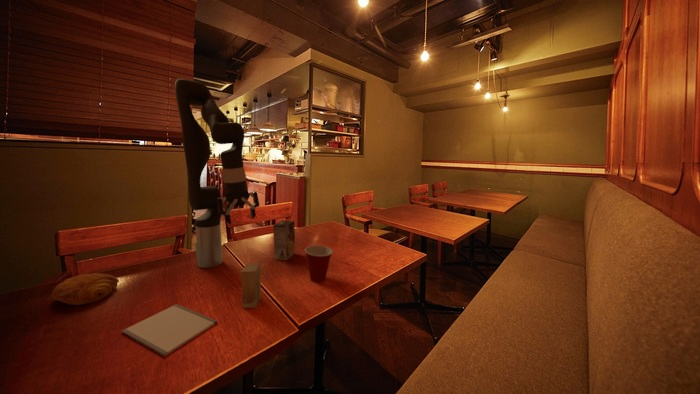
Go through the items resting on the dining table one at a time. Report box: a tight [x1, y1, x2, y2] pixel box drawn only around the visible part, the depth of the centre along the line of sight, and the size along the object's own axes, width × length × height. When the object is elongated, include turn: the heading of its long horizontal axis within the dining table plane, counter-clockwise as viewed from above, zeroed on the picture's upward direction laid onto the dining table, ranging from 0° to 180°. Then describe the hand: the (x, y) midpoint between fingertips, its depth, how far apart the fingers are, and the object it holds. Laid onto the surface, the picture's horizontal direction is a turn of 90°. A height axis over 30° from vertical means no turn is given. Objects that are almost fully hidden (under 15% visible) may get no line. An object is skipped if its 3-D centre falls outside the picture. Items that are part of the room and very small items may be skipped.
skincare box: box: [240, 262, 262, 309], centre depth 83 cm, size 6×4×12 cm
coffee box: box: [273, 220, 296, 261], centre depth 121 cm, size 9×6×16 cm
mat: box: [121, 303, 218, 357], centre depth 71 cm, size 18×14×1 cm
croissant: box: [51, 273, 120, 306], centre depth 85 cm, size 14×16×8 cm
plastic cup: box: [304, 245, 334, 283], centre depth 100 cm, size 11×11×12 cm
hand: (241, 220), depth 100 cm, fingers open, 8 cm apart
